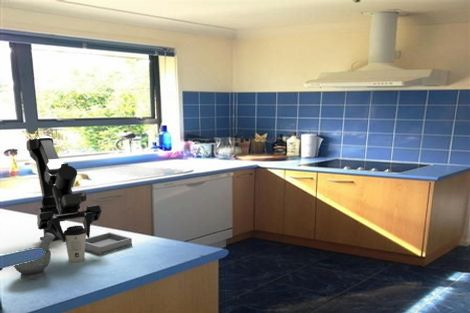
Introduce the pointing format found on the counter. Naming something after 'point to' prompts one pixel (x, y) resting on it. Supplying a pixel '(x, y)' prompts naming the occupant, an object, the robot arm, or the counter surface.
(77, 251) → the coffee cup
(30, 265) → the mortar and pestle
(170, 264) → the counter surface
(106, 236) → the tray
